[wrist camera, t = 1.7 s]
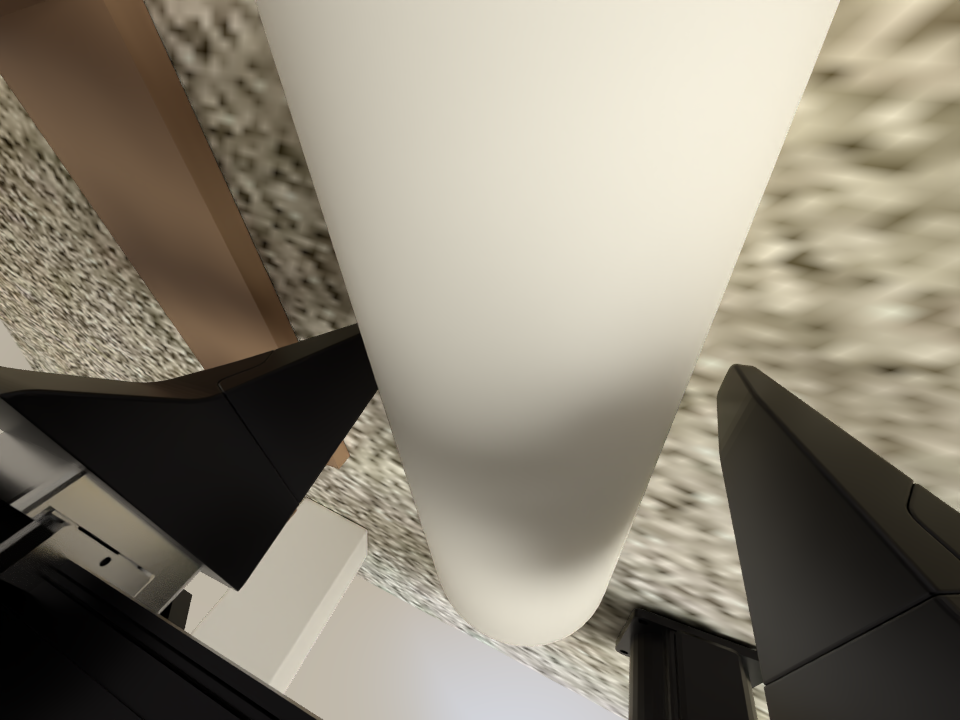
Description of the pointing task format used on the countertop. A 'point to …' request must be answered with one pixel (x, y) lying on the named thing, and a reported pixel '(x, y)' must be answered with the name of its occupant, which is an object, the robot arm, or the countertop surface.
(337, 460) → the bracket
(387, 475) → the countertop surface
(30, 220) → the countertop surface
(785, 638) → the robot arm
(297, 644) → the milk
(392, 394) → the kitchen roll
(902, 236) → the countertop surface
